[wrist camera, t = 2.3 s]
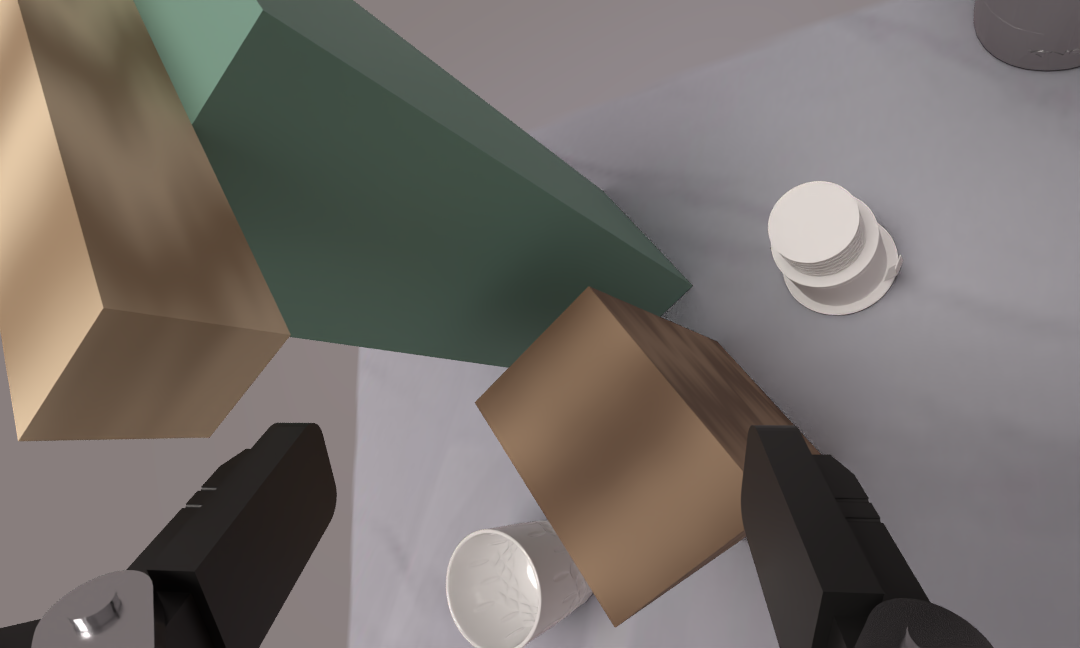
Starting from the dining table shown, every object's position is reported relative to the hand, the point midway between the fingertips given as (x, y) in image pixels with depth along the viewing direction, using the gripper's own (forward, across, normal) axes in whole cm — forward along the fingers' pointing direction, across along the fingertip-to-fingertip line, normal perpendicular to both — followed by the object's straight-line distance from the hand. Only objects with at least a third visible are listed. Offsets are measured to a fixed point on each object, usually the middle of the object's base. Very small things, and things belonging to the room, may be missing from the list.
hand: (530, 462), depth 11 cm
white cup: (+26, -2, -31) cm, 41 cm away
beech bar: (+8, -12, +5) cm, 15 cm away
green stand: (+38, +1, -11) cm, 39 cm away
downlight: (+31, +17, -8) cm, 36 cm away
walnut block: (+27, +10, -19) cm, 35 cm away
